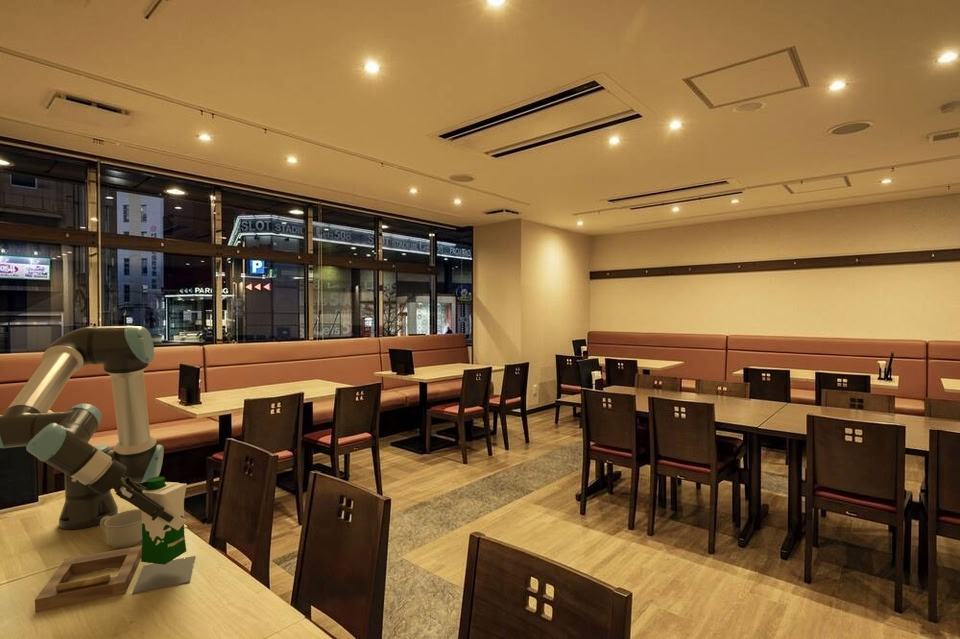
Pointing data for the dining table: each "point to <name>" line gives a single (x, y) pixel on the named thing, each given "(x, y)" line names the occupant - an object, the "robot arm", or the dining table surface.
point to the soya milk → (156, 535)
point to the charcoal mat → (164, 575)
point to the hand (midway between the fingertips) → (178, 519)
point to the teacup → (123, 528)
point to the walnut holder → (89, 579)
